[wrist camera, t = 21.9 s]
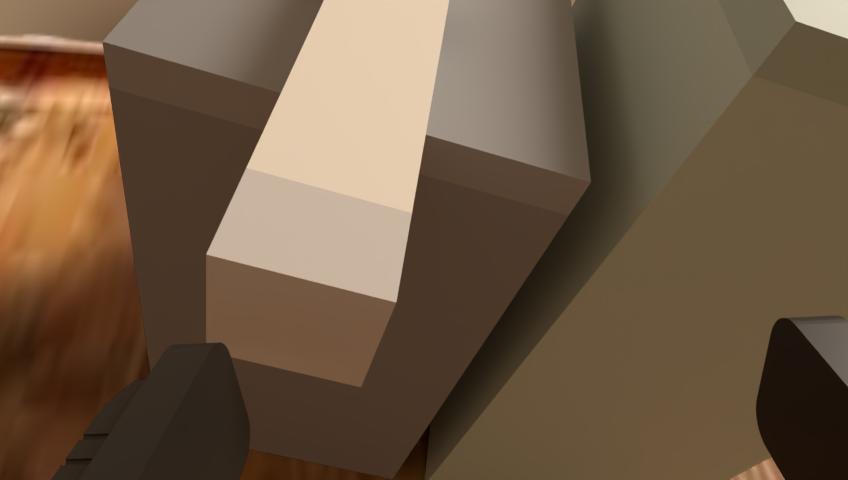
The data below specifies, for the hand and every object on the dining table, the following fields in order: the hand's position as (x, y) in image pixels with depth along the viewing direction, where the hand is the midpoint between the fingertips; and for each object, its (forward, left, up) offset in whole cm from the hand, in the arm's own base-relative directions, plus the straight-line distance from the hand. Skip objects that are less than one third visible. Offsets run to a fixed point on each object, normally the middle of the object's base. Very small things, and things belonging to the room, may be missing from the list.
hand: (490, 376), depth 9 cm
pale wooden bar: (-6, -11, -3) cm, 13 cm away
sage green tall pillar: (-22, -4, -29) cm, 37 cm away
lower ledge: (-11, -15, -29) cm, 34 cm away
